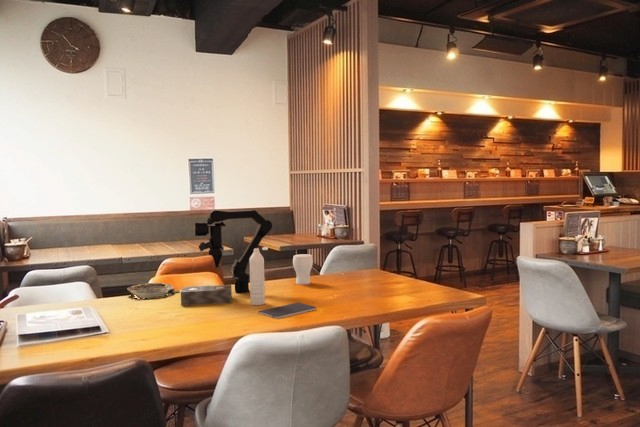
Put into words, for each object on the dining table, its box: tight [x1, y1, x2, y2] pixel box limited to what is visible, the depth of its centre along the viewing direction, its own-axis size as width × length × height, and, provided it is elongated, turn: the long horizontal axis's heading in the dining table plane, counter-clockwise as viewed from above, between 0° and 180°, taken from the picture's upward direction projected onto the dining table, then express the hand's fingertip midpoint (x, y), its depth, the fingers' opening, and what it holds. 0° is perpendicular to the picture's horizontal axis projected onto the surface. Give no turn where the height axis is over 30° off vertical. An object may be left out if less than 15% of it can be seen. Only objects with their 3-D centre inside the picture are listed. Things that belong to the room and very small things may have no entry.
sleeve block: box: [180, 284, 233, 306], centre depth 245 cm, size 22×12×6 cm, turn 98°
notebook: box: [258, 302, 317, 320], centre depth 223 cm, size 13×2×21 cm
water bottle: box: [248, 246, 269, 306], centre depth 238 cm, size 9×6×25 cm
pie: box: [126, 282, 180, 300], centre depth 264 cm, size 28×27×5 cm
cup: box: [292, 253, 314, 286], centre depth 283 cm, size 11×11×15 cm
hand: (216, 267), depth 261 cm, fingers closed
